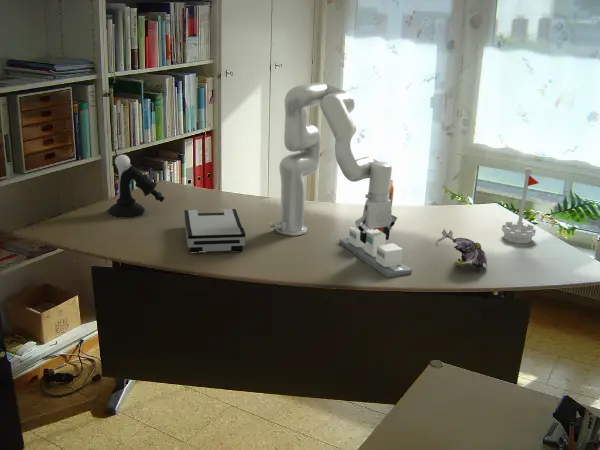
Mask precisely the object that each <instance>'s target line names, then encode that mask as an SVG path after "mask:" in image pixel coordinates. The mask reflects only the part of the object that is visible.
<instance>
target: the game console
mask: <svg viewBox="0 0 600 450" xmlns="http://www.w3.org/2000/svg"><path fill="white" fill-rule="evenodd" d="M183 212H184V213H183V217H184V228H185V236H186V237H185V238H186V245H187V248H189V253H190V252H199V251H207V252H226V251H242V252H243V250H244V246H246V232H245V229H244V227H243V226H242V223H241V220H240V218H239V215H238V212H237V209H236V208H228V209H227V208H224V209H222V212H201V213H199V212H198V209H184V210H183Z"/></svg>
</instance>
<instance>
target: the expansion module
mask: <svg viewBox="0 0 600 450" xmlns="http://www.w3.org/2000/svg"><path fill="white" fill-rule="evenodd" d="M366 233H367V238H366V243H365V247H364V251H365V252H367V253H368V254H369V255H371V256H372V257H374V256H376V253H377V246H378V245H385V244H386V241H387V240H386V234H384V233H383V232H381V231H379V230H378V229H376V230H373V229H372V230H368V231H366Z"/></svg>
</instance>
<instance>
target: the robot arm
mask: <svg viewBox="0 0 600 450" xmlns="http://www.w3.org/2000/svg"><path fill="white" fill-rule="evenodd" d="M317 106H320V110H321V113H322V115H323V117H324V118H325V120H326V123H327V124H328V127H329V128H330V130H331V133H332V134H333V137H334V138H335V140H334V141H335V144H334V152H335V160H336V163H337V164H338V165H337V166H338V167H339V169H340V171H341V173H342V174H343V176H344V177H345V178H346V179H347V180H348V181H349V182H355V183H356V182H359V181H361V180H365V179H369V181H368V183H369V184H368V191H367V194H365V198H366V200H365V201H364V202H365V204H364V207H363V212H362V216H361V217H359V218H357V219H356V220H355V221H354V223H355V227H356V226H357V228H358V229H359V230H360V241H362V242H363V243H366V238H367V233H366V231H367V230H368V229H369V228H370V229H372V230H373V228H381V227H384V228H383V233H384V234H386V240H385V241H388V240H390V239H389V238H390V233H391V232H390V231H391V230H392V228H393V226H395V223H396V221H397V219H398V217H397V216H396V215H394V214H392V211H393V210H392V208H391V200H390V199H389V191H390V182H391V180H392V171H393V170H392V169H393V167H392V165H391V164H390V163H388V162H385V161H379V160H378V159H375V158H373V157H370V156H364V157H361V158H357V159H356V158H355V156H354V154H353V152H352V147H351V141H352V139H353V137H354V135H355V134H356V132H357V126H356V125H355V123H354V121H353V119H352V117H351V115H350V114H351V113H352V112H353V111H354V109H355V100H354V97H353V96H352V95H351V94H350V93H349V92H348V91H346V90H344V89H341V88H339V87H335V86H334V85H331V84H328V83H326V82H313V83H306V84H300V85H297V86H294V87H292V88H290V89H289V90H288V91H287V92H286V94H285V98H284V113H285V114H284V115H285V116H284V133H283V134H284V135H283V136H284V137H283V138H284V140H283V142H284V146H285V149H286V150H287V151H289V152H292V154H288V155H286V156H284V157H283V158H282V159H281V161H280V163H279V166H278V167H279V175H280V214H279V215H280V216H279V218H277V220H276V221H275V222H269V223H268V227H269V229H271V228H274V229H275V230H276V231H275V232H277V233H279V234H280V235H284V236H292V237H293V236H301V235H304V234H306V233H307V232H308V227H307V226H306V225H304V222H305V221H304V219H305V202H306V201H305V200H306V199H305V198H306V197H305V196H306V188H305V184H304V181H303V177H306V176H309V175H312V174H314V173H315V172H317V170H318V169H319V166H320V156H321V154H320V153H321V133H320V131H319V129H318V128H317V127H316V126H315V125H314V124H311V123H309V124H308V114H307V111H306V109H305V108H311V107H317ZM293 152H296V153H293ZM361 223H362V225H361ZM365 226H366V227H365Z"/></svg>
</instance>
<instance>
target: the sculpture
mask: <svg viewBox="0 0 600 450" xmlns="http://www.w3.org/2000/svg"><path fill="white" fill-rule="evenodd" d="M114 164H115V167H116V169H117V170H118V189H117V190H118V194H117V195H116V197H115V199H114V201H116V203H114V204H113V205H111V206H110V208H108V210H107V212H108V213H109V214H110V215H112V216H111V217H113V216H116V217H115V218H117V217H132V218H136V217H135V216H138V217H140V216H142V215H144V214H145V213H144V212H146V211H145V209H146V208H145V207H144V206H142V204H140V203H138V202H136V199H135V198H133V196H132V192H131V185H130V183H131V180H133V181H134V182H135V187H137V188H139V189H140V190H141V191H142V192H143V195H144V197H146V196H149V195H153V196H154V199H155V200H156V201H159V202H161V203H162V202H163V201H164V200H165V199H166V198H165V197H164V196H163V195H162V193H161V191H157V190H156V187H157V184H158V182H155V181H153V180H151V179H150V178H149V176H148V175H147V173H145V174H144V173H142V172H141V171H140V170H139V169H138V168H137V167H136V166H134V165H132V164H131V159H130V158H129V156H128V155H127V154H119V155H117V156H116V157H115V159H114ZM108 213H107V214H108ZM143 213H144V214H143ZM109 214H108V215H109ZM141 214H142V215H141ZM110 215H109V216H110ZM139 215H140V216H139Z"/></svg>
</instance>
